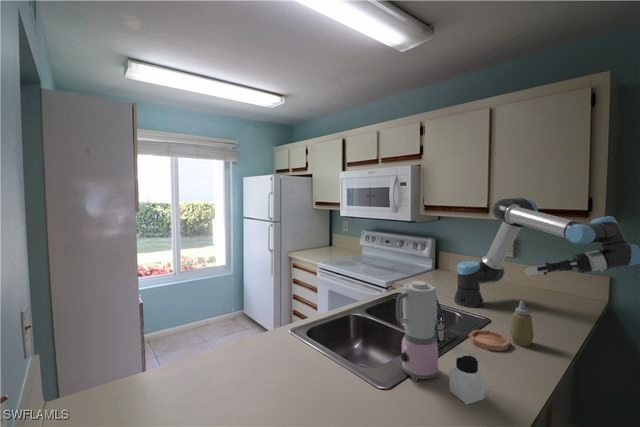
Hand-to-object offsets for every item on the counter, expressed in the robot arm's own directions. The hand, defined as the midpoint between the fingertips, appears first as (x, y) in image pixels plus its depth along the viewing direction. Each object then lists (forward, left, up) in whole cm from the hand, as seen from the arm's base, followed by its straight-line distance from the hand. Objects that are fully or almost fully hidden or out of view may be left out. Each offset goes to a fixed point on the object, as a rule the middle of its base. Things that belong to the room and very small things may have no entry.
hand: (526, 272), depth 128 cm
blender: (+30, -53, -29) cm, 67 cm away
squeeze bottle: (+6, -5, -29) cm, 30 cm away
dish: (+6, -18, -29) cm, 34 cm away
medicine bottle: (+41, -40, -29) cm, 64 cm away
